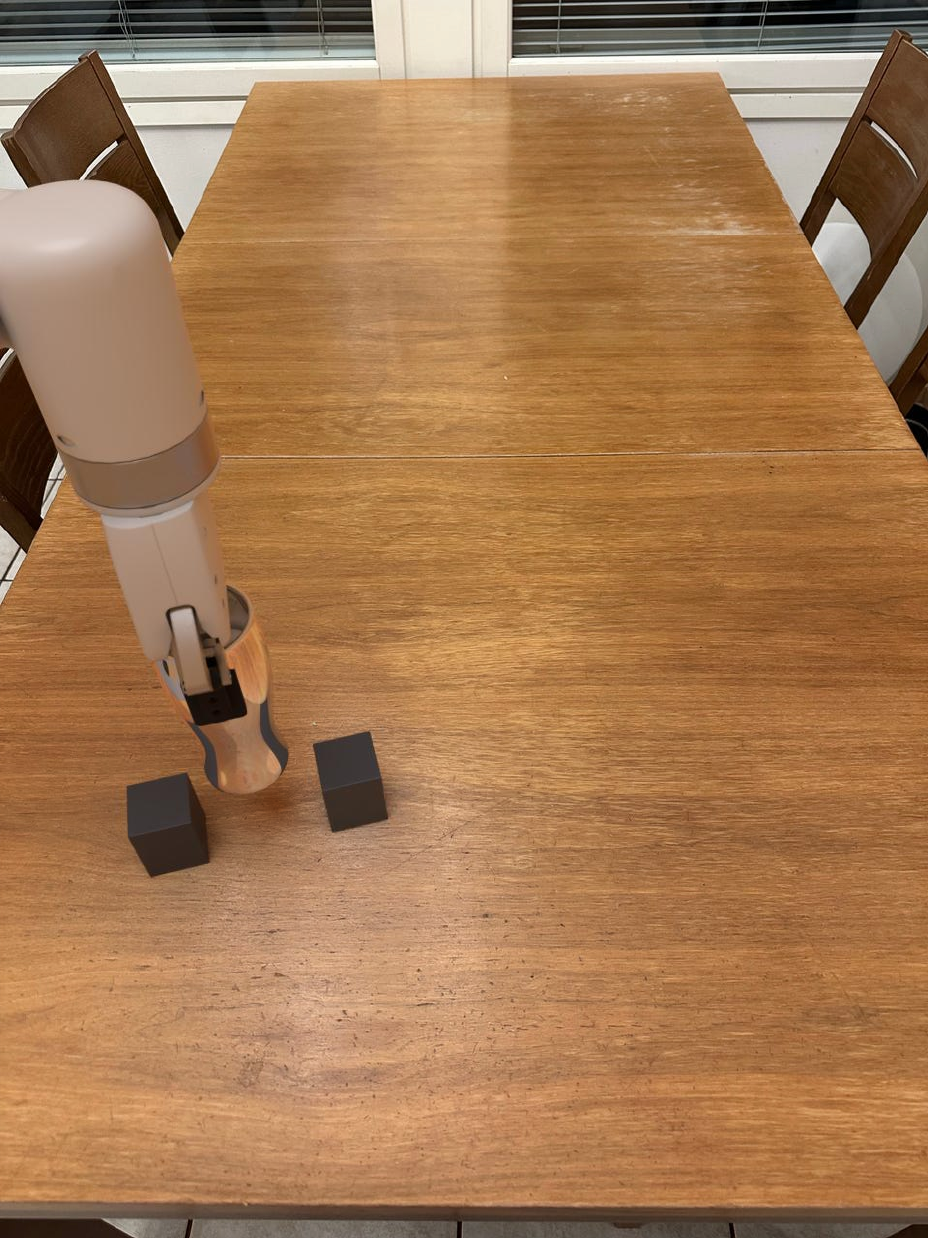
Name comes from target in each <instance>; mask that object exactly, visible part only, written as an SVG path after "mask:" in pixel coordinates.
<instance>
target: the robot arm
mask: <svg viewBox="0 0 928 1238" xmlns="http://www.w3.org/2000/svg"><path fill="white" fill-rule="evenodd" d="M168 253H169V252H168V250H167V246H166V242H165V239H164V236H163V233H162V230H161V227H160V223H159V220H158V218H157V217H156V215H155V213H154V211H153V210H152V208H150V206H149V204H148V203H147V202H146V201H145V200H144V199H143V198H142V197H141V196H140V195H138V194H137V193H136V192H135V191H133V190H131V189H129V188H128V187H125V186H122V185H120V184H117V183H114V182H110V181H105V180H98V179H68V180H67V179H66V180H58V181H53V182H47V183H42V184H39V185H34V186H31V187H27V188H24V189H8V188H0V350H2V349H5V348H6V349H11V350H13V351H14V352H15V354H16V356H17V358H18V361H19V363H20V365H21V368H22V370H23V373H24V375H25V377H26V380H27V382H28V385H29V387H30V389H31V392H32V394H33V395H34V398H35V401H36V404H37V405H38V408H39V411H40V413H41V415H42V417H43V419H44V422H45V425H46V427H47V429H48V431H49V434H50V437H51V438H52V441H53V444H54V446H55V449H56V451H57V453H58V456H59V458H60V461H61V463H62V465H63V468H64V470H65V473H66V475H67V477H68V480H69V482H70V484H71V487H72V489H73V491H74V494H75V496H76V497H77V499H78V500H79V502H80V503H81V504H82V505H84V506H85V507H86V508H88V509H90V510H91V511H94V512H96V513H98V514H99V515H100V520H101V525H102V529H103V534H104V537H105V540H106V545H107V548H108V551H109V556H110V558H111V561H112V566H113V568H114V571H115V574H116V575H115V576H116V577H117V580H118V581H117V582H118V583H119V587H120V589H121V592H122V595H123V598H124V601H125V604H126V607H127V610H128V612H129V615H130V618H131V621H132V624H133V627H134V630H135V632H136V635H137V639H138V641H139V644H140V648H141V650H142V652H143V655H144V656H145V657H146V659H148V660H149V661H151V662H155V661H159V660H165V659H167V658H168V654H169V650H170V646H171V651H172V654H173V657H174V661H175V665H176V668H177V672H178V676H179V680H180V687H181V690H182V692H183V695H184V698H185V700H186V703H187V705H188V708H189V710H190V713H191V715H192V718H193V721H194V723H195V725H197V726H205V725H209V724H217V723H221V722H225V721H228V720H232V719H236V718H241V717H244V716H246V715H247V706H246V703H245V700H244V696H243V693H242V690H241V687H240V684H239V681H238V677H237V674H236V671H235V668H234V669H229V665H228V661H227V657H226V653H225V649H224V646H225V645H226V644H227V643H228V641H229V640H230V638H231V630H230V620H229V609H228V598H227V588H226V583H227V581H226V580H227V579H226V573H225V564H224V558H223V551H222V546H221V545H222V544H221V539H220V535H219V530H218V525H217V521H216V517H215V512H214V508H213V505H212V502H211V501H212V500H211V498H210V493H209V491H208V490H209V488H210V487H211V485H212V484H213V483H214V482H215V480H216V479H217V477H218V474H219V472H220V471H221V467H222V453H221V450H220V447H219V442H218V439H217V435H216V431H215V427H214V423H213V420H212V416H211V412H210V407H209V404H208V401H207V397H206V393H205V389H204V386H203V383H202V379H201V375H200V371H199V367H198V364H197V359H196V355H195V351H194V349H193V345H192V341H191V337H190V334H189V330H188V326H187V322H186V319H185V315H184V311H183V307H182V303H181V298H180V295H179V292H178V288H177V284H176V281H175V277H174V273H173V268H172V265H171V262H170V257H169V254H168ZM198 625H201V627H202V629H203V630H204V631H205V632H206V633H202V634H200V631H199V626H198ZM212 647H213V651H214V655H215V659H216V663H217V666H214V667H209V668H208V667H207V664H206V660H205V655H204V650H203V649H207V648H212Z"/></svg>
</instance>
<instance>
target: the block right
mask: <svg viewBox="0 0 928 1238" xmlns="http://www.w3.org/2000/svg"><path fill="white" fill-rule="evenodd" d="M312 749H313V753H314V754H313V755H314V758H315V763H316V769H317V774H318V780H319V785H320V789H321V794H322V799H323V803H324V807H325V810H326V814H327V818H328V823H329V826H330V831H331V833H336V832H341V831H345V830H349V829H354V828H357V827H362V826H367V825H369V824H373V823H378V822H381V821H387V820H388V819H389V816H388V810H387V804H386V798H385V791H384V785H383V779H382V773H381V769H380V765H379V761H378V757H377V753H376V750H375V745H374V741H373V736H372V733H371V730H366V731H362V732H358V733H354V734H353V733H352V734H349V735H344V736H340V737H336V738H331V739H328V740H323V741H322V740H321V741H317V742H314V743H312Z"/></svg>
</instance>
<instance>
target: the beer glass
mask: <svg viewBox="0 0 928 1238" xmlns="http://www.w3.org/2000/svg"><path fill="white" fill-rule="evenodd" d="M226 588H227V598H228V609H229V620H230V630H231V638H230V640H229V641H228V643H227V644H226V645H225V646H224V649H225V653H226V657H227V661H228V665H229V669H234V668H235V671H236V674H237V677H238V681H239V684H240V687H241V690H242V693H243V696H244V700H245V703H246V706H247V715H246V716H244V717H241V718H236V719H232V720H228V721H225V722H221V723H217V724H209V725H205V726H197V725H195V723H194V721H193V718H192V715H191V713H190V710H189V708H188V705H187V703H186V700H185V698H184V695H183V692H182V690H181V687H180V680H179V676H178V672H177V668H176V665H175V661H174V657H173V654H172V651H171V646H170V650H169V654H168V658H167V659H165V660H159V661H155V662H153V661H152V662H153V666H154V669H155V672H156V675H157V678H158V681H159V683H160V686H161V688H162V690H163V693H164V694H165V696H166V698H167V701H169V704H170V705H171V706H172V708H173V710H174V711H175V713H176V715H177V716H178V717H179V718H180V720H181V721H182V722H183V724H184V725H185V726H186V727H187V728H188V730H189V731H190V732H191V733H192V735H193V737H194V738H195V739H196V740H197V742H198V744H199V746H200V749H201V756H202V758H201V759H202V760H201V761H202V767H203V772H204V776H205V778H206V779H207V781H208V782H209V783H210V785H212V786H213V787H214V788H215V789H216V790H218V791H220V792H222V793H224V794H228V795H232V796H247V795H251V794H254V793H258V792H261V791H263V790H265V789H267V788H268V787H270V786H272V785H273V784H274V783H275V782H277V780H279V778H280V777H281V776H282V774H283V773H284V771H285V769H286V767H287V766H288V763H289V755H290V749H289V744H288V742H287V739H286V738H285V736H284V735H283V733H282V731H281V730H280V729H279V727H278V725H277V723H276V719H275V715H274V675H273V664H272V660H271V656H270V652H269V647H268V644H267V641H266V638H265V634H264V632H263V630H262V627H261V623H260V621H259V619H258V617H257V614H256V612H255V609H254V604H253V602H252V601H251V599H250V597H249V596H248V594H246V593H245V592H244V591H243V590H242V589H240V588H239V587H237V586H235V585H233V584H230V583H228V582H226ZM198 626H199V631H200V634H202V633H206V632H205V631H204V630H203V629H202V627H201V625H198ZM203 650H204V655H205V660H206V664H207V667H208V668H209V667H214V666H217V663H216V659H215V655H214V651H213V647H212V648H207V649H203Z"/></svg>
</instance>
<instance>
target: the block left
mask: <svg viewBox="0 0 928 1238" xmlns="http://www.w3.org/2000/svg"><path fill="white" fill-rule="evenodd" d="M125 790H126V820H127V821H126V822H127V823H126V824H127V825H126V826H127V839H128V840H129V842H130V844H131V846H132V848H133V849H134V851H135V852H136V854H137V856H138V858H139V860H140V862H141V863H142V865H143V867H144V869H145V870H146V872H147V874H148V876H149V877H150V878H152V877H156V876H161V875H164V874H165V875H166V874H169V873H173V872H176V871H181V870H185V869H188V868H193V867H197V866H198V867H199V866H201V865H205V864H209V863H210V853H209V844H208V831H207V821H206V813H205V811H204V808H203V806H202V804H201V801H200V798H199V797H198V794H197V792H196V790H195V787H194V785H193V782H192V780H191V778H190V775H189V773H188V772H182V773H178V774H173V775H170V776H164V777H160V778H157V779H151V780H147V781H146V780H145V781H142V782H138V783H134V784H129V785H126V789H125Z"/></svg>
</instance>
